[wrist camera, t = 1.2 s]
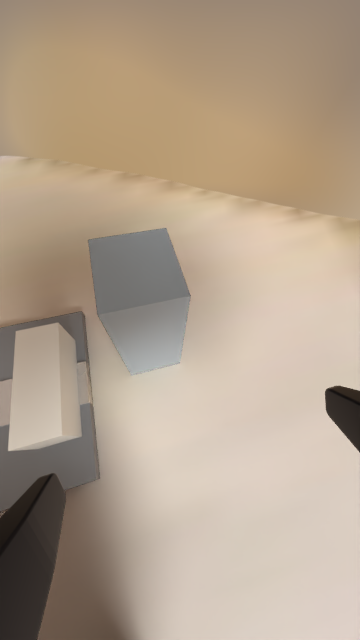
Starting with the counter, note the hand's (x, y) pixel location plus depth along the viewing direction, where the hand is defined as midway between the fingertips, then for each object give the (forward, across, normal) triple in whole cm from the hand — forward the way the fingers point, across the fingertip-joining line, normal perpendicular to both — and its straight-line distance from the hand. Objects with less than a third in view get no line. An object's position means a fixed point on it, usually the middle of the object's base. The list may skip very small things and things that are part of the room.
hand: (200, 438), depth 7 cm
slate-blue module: (+15, +2, +2) cm, 15 cm away
